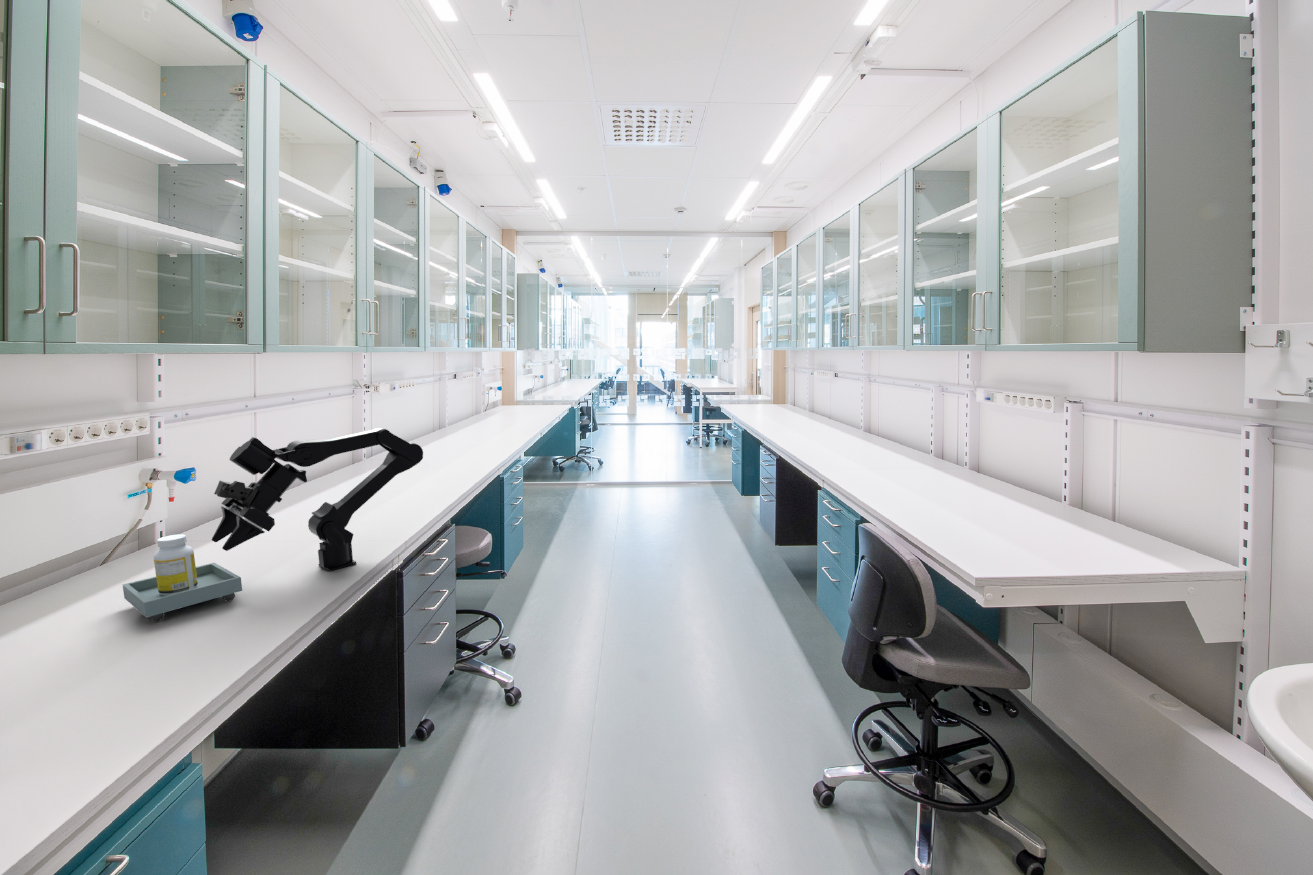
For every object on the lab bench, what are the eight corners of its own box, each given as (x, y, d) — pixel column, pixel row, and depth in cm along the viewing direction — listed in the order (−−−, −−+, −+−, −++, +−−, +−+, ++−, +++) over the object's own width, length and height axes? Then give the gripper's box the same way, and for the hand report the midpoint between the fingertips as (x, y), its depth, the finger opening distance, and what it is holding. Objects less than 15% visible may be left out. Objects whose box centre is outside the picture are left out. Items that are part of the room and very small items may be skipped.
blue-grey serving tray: (216, 583, 136) (214, 562, 135) (243, 599, 126) (240, 577, 126) (125, 607, 123) (122, 584, 122) (147, 627, 114) (144, 602, 113)
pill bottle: (188, 583, 128) (182, 531, 126) (204, 588, 125) (198, 535, 123) (152, 593, 122) (144, 539, 121) (168, 599, 119) (160, 543, 118)
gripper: (227, 461, 136) (173, 518, 129) (251, 471, 124) (192, 534, 117) (270, 488, 143) (221, 544, 136) (296, 500, 130) (243, 561, 124)
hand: (218, 545), depth 128 cm, fingers open, 9 cm apart
